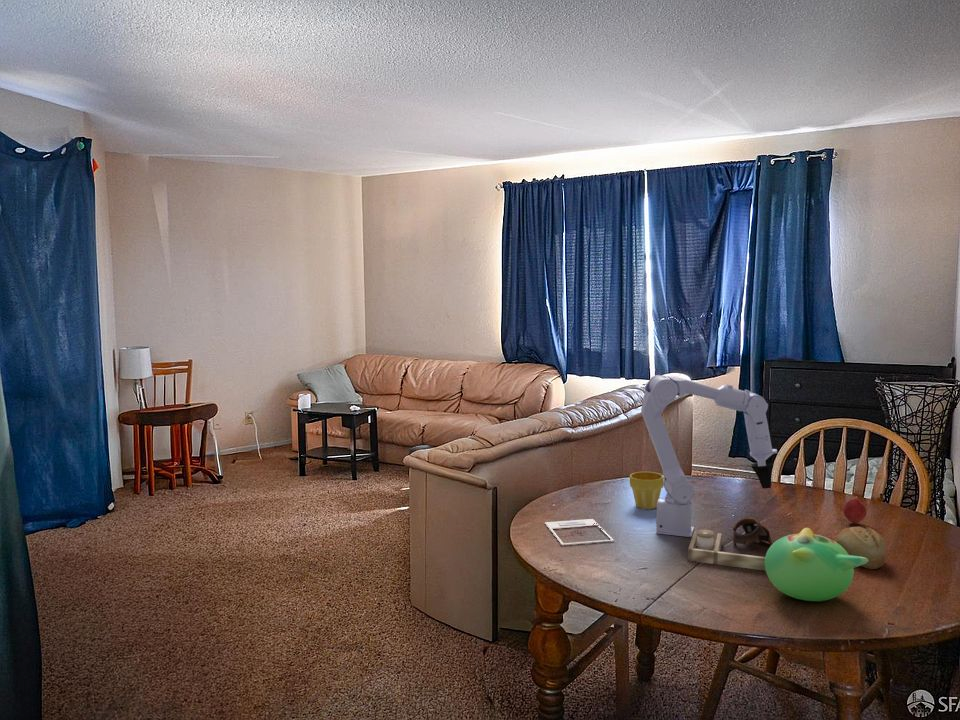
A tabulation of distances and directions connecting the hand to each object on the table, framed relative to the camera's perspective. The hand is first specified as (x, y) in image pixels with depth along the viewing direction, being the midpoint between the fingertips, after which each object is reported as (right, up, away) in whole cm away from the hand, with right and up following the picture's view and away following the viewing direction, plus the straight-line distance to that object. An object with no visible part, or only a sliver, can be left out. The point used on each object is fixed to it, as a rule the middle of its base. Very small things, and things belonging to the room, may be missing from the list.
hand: (767, 483), depth 198 cm
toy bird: (-7, -19, -40) cm, 45 cm away
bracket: (-14, -16, -16) cm, 27 cm away
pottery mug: (-7, -15, -8) cm, 19 cm away
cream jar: (-22, -16, -14) cm, 30 cm away
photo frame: (-52, -15, +3) cm, 54 cm away
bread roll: (+16, -16, -20) cm, 30 cm away
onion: (+27, -13, +6) cm, 30 cm away
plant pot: (-28, -12, +25) cm, 39 cm away
